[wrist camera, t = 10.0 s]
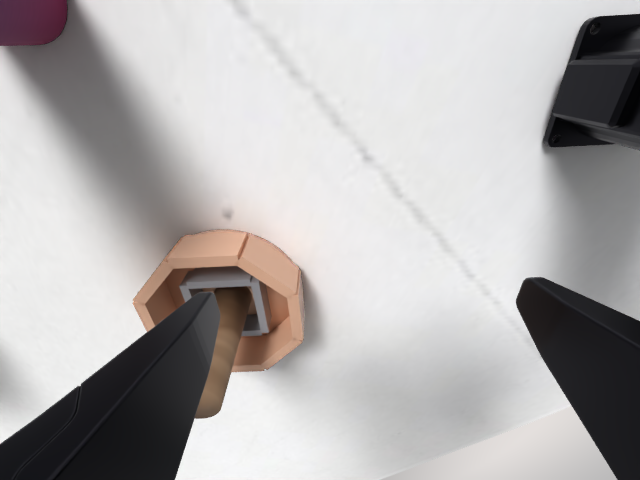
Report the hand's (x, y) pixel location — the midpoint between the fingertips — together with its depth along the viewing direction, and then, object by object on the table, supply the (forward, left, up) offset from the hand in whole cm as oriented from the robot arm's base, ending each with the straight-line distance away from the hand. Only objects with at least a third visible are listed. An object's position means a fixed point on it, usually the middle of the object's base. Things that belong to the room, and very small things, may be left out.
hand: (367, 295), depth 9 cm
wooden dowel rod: (+9, +10, -12) cm, 18 cm away
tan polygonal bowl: (+9, +10, -12) cm, 18 cm away
